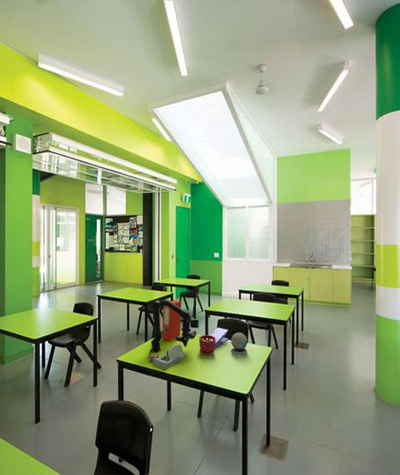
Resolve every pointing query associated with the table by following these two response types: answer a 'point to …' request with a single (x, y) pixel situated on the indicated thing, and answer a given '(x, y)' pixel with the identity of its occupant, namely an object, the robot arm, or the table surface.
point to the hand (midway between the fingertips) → (185, 346)
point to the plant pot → (207, 344)
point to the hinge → (174, 352)
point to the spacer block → (153, 357)
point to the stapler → (219, 336)
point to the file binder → (171, 322)
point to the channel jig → (164, 364)
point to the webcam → (239, 344)
